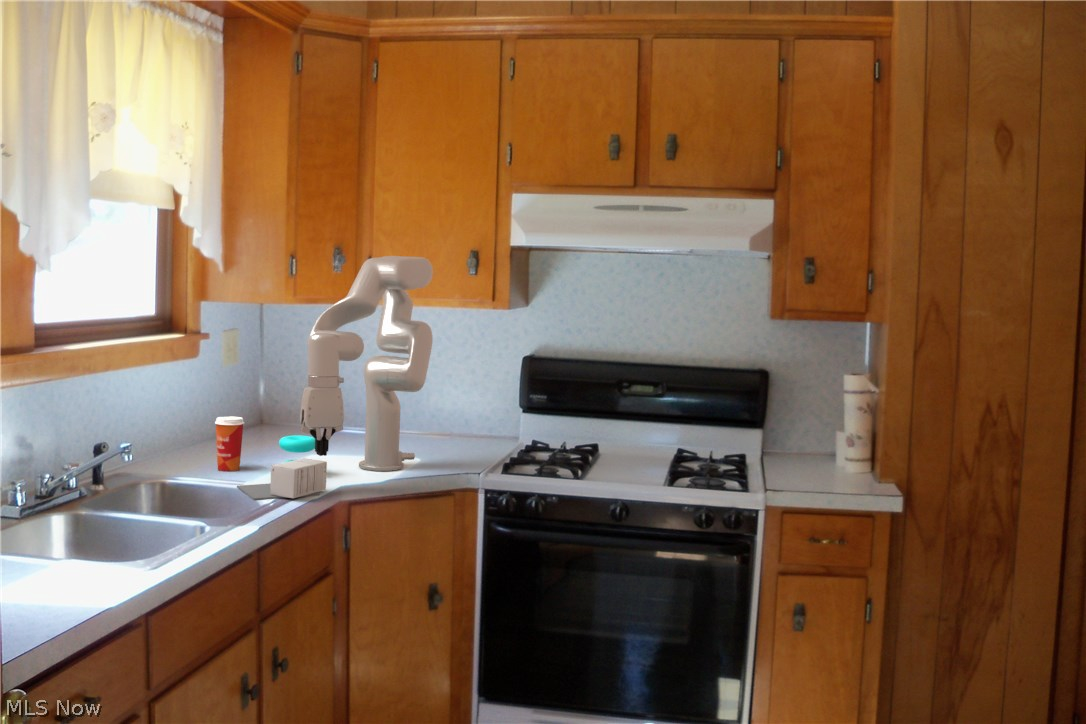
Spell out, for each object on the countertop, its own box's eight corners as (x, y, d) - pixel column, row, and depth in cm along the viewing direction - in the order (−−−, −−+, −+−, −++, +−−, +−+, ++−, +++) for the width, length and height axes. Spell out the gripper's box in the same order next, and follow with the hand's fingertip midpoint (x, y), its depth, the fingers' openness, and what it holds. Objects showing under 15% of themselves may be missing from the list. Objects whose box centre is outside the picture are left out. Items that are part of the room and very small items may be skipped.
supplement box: (302, 486, 249) (268, 494, 238) (304, 457, 249) (270, 464, 237) (326, 490, 246) (293, 499, 235) (328, 461, 246) (294, 468, 234)
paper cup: (209, 468, 268) (210, 416, 267) (236, 465, 273) (237, 415, 272) (220, 473, 262) (221, 420, 261) (248, 470, 267) (249, 419, 266)
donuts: (310, 433, 271) (322, 439, 263) (309, 469, 272) (321, 476, 264) (274, 435, 266) (285, 441, 258) (273, 472, 267) (284, 479, 259)
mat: (299, 482, 255) (299, 481, 255) (319, 494, 242) (319, 493, 242) (236, 487, 246) (236, 485, 246) (253, 500, 234) (254, 498, 234)
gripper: (346, 380, 255) (344, 450, 257) (289, 381, 247) (287, 453, 249) (357, 383, 249) (355, 455, 251) (299, 385, 241) (297, 459, 243)
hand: (321, 454), depth 250 cm, fingers closed
